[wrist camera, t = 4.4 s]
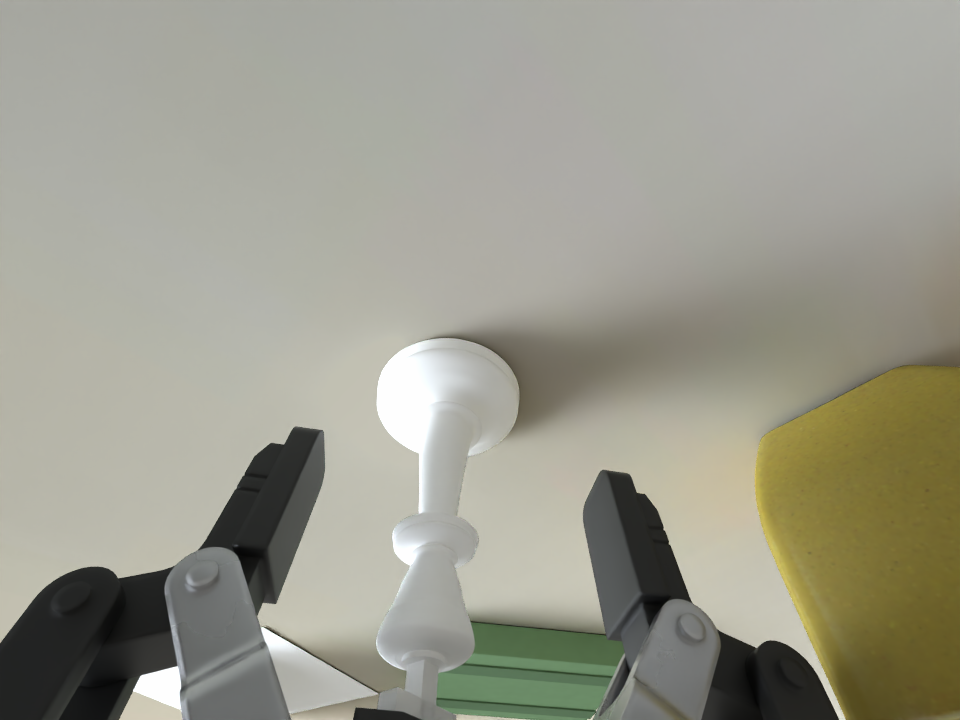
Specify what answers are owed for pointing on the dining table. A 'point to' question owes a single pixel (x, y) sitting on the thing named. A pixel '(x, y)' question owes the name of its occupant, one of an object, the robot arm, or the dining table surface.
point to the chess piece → (438, 504)
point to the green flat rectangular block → (530, 674)
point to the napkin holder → (296, 671)
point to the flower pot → (874, 539)
